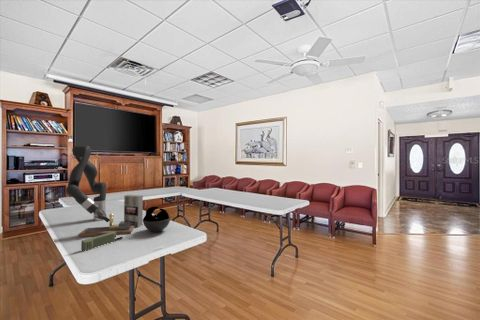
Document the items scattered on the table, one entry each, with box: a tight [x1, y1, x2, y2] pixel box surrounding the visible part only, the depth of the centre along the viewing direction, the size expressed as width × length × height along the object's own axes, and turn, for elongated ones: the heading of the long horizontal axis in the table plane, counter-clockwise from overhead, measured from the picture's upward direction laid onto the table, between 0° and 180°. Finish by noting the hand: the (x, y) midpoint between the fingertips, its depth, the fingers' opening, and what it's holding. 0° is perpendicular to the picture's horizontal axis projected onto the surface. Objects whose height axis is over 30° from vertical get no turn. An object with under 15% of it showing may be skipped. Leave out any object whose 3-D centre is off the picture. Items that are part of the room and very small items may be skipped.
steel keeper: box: [118, 220, 131, 230], centre depth 175 cm, size 6×7×5 cm
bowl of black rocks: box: [142, 205, 171, 233], centre depth 177 cm, size 20×20×19 cm
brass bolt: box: [108, 213, 119, 228], centre depth 173 cm, size 3×8×12 cm, turn 106°
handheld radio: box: [80, 232, 123, 252], centre depth 149 cm, size 7×3×25 cm
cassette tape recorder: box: [123, 194, 144, 228], centre depth 189 cm, size 14×6×25 cm, turn 76°
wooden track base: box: [77, 226, 135, 239], centre depth 172 cm, size 14×34×4 cm, turn 106°
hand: (108, 221), depth 172 cm, fingers closed
